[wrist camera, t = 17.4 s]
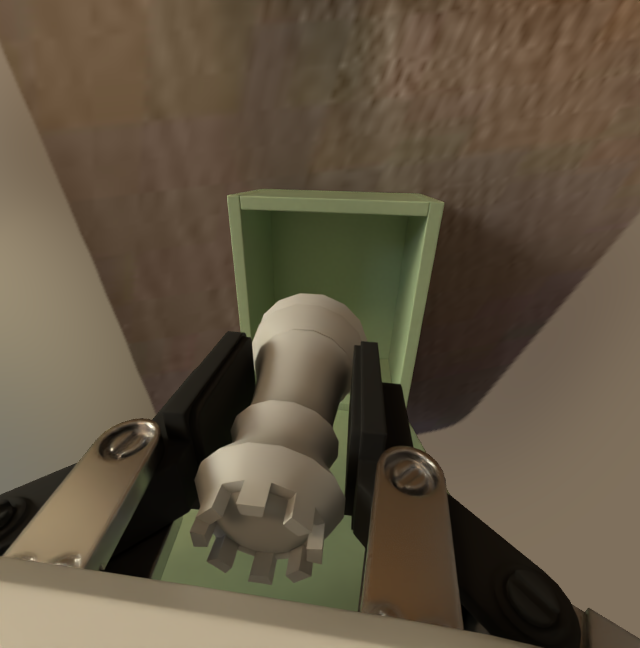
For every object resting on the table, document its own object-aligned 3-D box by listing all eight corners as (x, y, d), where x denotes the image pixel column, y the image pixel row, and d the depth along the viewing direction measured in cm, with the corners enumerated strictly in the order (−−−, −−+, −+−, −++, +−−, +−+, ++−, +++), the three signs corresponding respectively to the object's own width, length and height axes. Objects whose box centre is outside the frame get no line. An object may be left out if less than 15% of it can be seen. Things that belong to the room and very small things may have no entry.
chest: (262, 188, 25) (226, 195, 18) (420, 193, 24) (445, 202, 17) (271, 352, 32) (247, 401, 25) (394, 362, 31) (404, 417, 24)
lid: (41, 565, 8) (33, 743, 9) (535, 643, 7) (517, 848, 7) (246, 400, 25) (242, 462, 25) (406, 415, 24) (401, 480, 24)
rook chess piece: (386, 357, 13) (420, 589, 6) (298, 397, 14) (239, 621, 7) (330, 267, 11) (282, 426, 4) (238, 321, 13) (90, 506, 6)
